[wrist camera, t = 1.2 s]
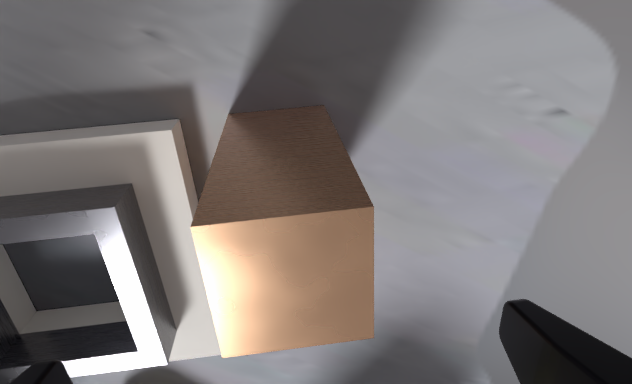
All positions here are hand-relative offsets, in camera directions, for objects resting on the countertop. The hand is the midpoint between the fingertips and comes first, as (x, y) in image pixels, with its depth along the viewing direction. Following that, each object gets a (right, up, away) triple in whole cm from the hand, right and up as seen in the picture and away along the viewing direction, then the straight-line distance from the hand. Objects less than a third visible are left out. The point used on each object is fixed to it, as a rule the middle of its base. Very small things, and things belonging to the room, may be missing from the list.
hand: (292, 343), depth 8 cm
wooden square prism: (-1, +5, +9) cm, 11 cm away
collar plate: (-11, 0, +11) cm, 15 cm away
